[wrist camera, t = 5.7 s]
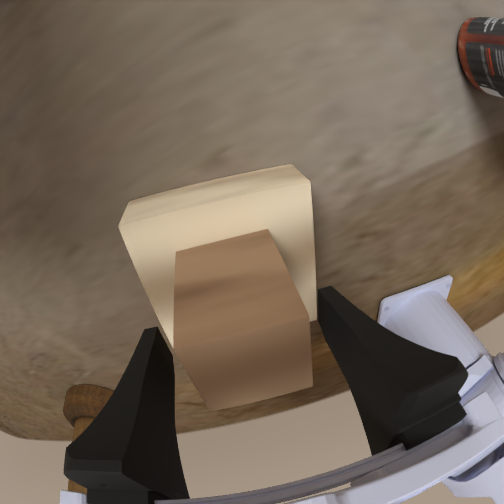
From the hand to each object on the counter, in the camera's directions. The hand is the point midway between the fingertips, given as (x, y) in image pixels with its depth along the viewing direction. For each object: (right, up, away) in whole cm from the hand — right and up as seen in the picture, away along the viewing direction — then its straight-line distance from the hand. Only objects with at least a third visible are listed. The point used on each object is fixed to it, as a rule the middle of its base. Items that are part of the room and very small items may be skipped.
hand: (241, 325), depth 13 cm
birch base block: (-1, +3, +5) cm, 6 cm away
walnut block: (-1, +2, +3) cm, 3 cm away
